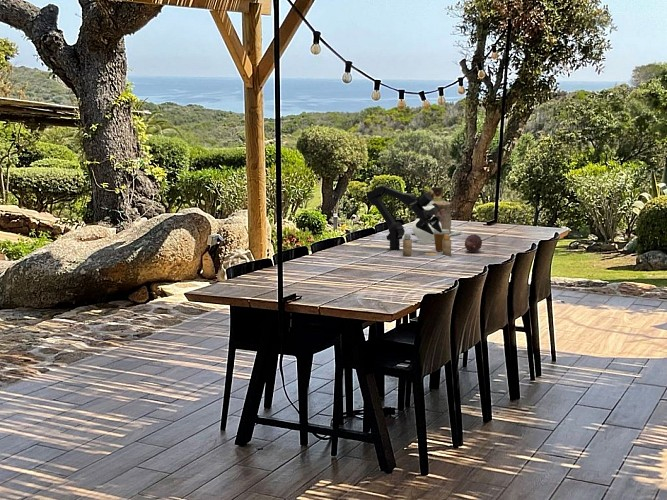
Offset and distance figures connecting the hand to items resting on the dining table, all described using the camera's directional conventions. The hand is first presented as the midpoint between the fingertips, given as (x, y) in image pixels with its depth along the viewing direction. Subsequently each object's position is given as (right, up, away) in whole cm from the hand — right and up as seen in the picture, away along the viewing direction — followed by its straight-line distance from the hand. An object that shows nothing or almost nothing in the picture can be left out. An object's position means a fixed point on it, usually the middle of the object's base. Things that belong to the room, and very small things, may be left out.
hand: (437, 233), depth 481 cm
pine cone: (+22, -10, +13) cm, 27 cm away
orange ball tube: (+5, -13, -2) cm, 14 cm away
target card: (-10, -13, -3) cm, 17 cm away
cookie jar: (+9, 0, +83) cm, 83 cm away
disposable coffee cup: (+4, -10, +18) cm, 21 cm away
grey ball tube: (-17, -12, -6) cm, 22 cm away
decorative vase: (-1, -5, +48) cm, 48 cm away
